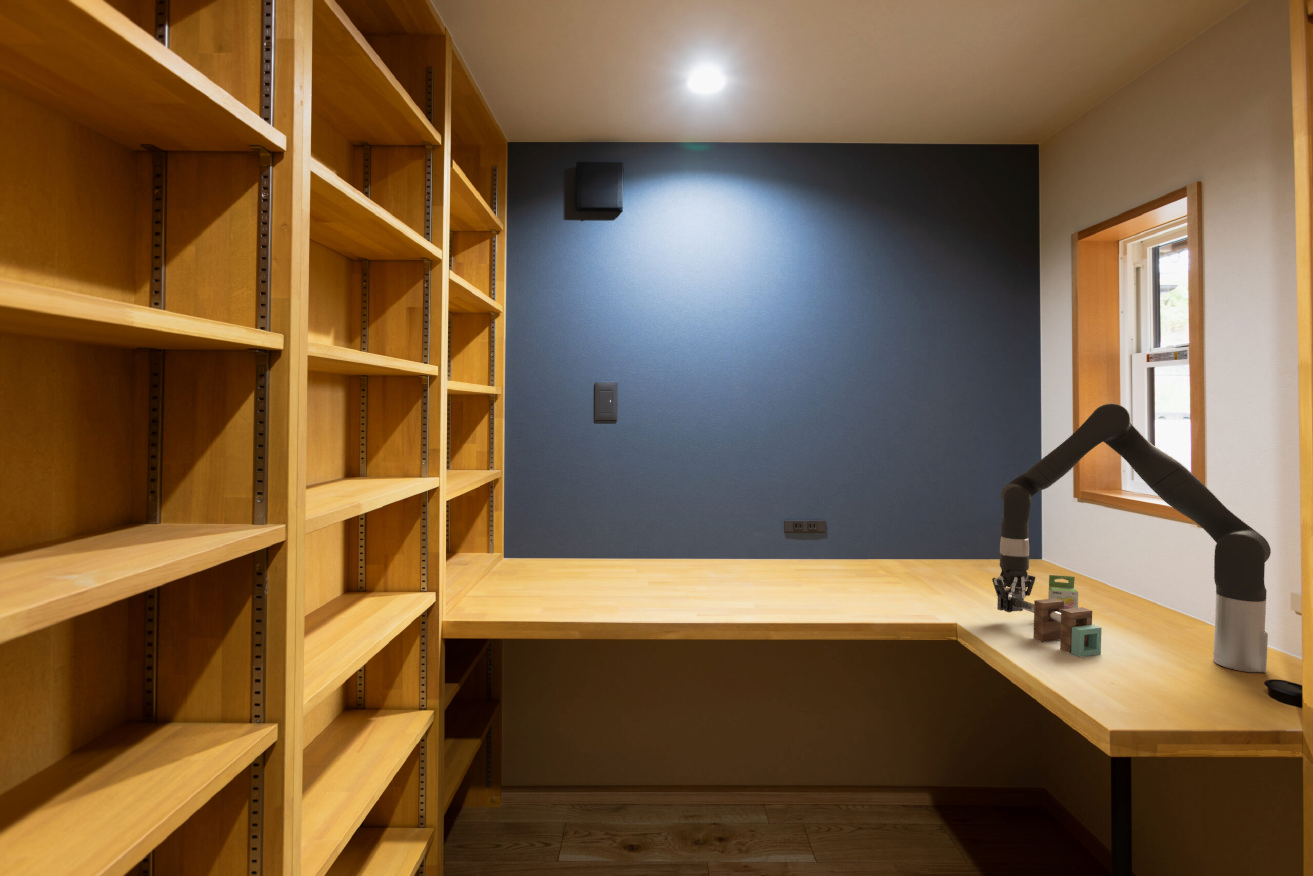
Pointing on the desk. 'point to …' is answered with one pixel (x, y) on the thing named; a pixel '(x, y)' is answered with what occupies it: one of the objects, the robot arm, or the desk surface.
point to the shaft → (1027, 606)
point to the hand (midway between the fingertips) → (1013, 610)
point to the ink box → (1063, 591)
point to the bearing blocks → (1056, 630)
